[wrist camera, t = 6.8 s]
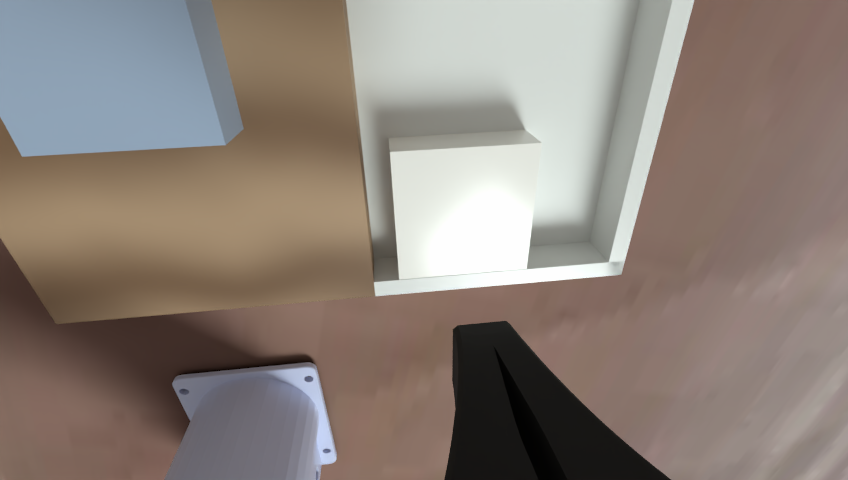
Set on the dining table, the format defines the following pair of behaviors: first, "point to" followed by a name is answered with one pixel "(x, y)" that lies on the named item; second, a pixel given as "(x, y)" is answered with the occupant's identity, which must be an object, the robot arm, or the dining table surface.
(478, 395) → the robot arm
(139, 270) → the board
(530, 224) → the tile white
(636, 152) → the tray
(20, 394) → the dining table surface
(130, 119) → the tile blue
